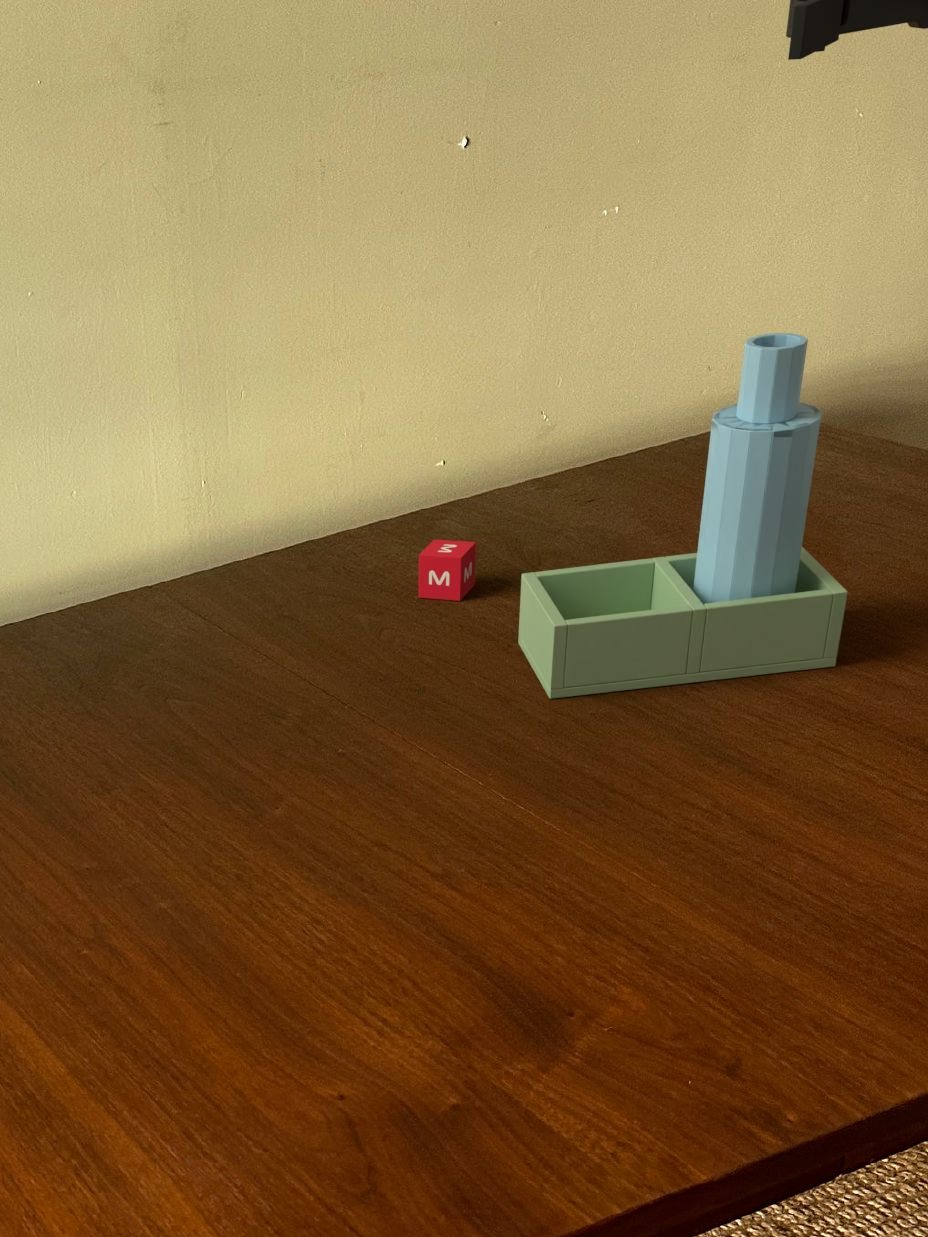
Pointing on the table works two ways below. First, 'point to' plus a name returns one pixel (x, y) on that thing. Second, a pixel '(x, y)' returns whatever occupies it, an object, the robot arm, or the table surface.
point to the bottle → (758, 477)
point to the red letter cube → (447, 569)
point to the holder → (669, 627)
